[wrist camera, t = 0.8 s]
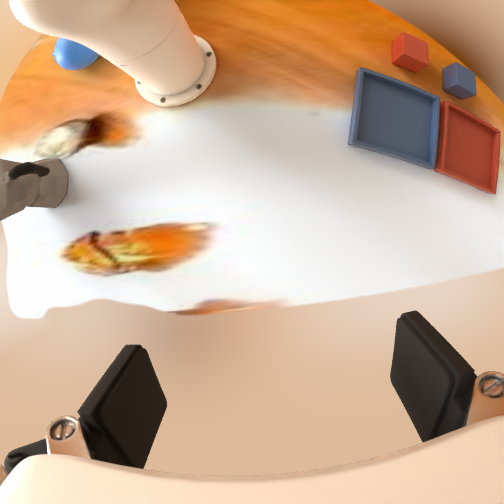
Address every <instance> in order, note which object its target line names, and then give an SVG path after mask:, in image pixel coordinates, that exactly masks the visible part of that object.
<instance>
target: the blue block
mask: <svg viewBox="0 0 504 504" xmlns="http://www.w3.org/2000/svg"><path fill="white" fill-rule="evenodd" d="M443 90H444V91H446V92H448V93H450V94H452V95H454V96H456V97H458V98H459V99H461V100H462V99H466V98H469V97H472V96H475V95H476V80H475V73H474V72H472V71H471V70H469V69H467V68H466V67H464V66H462V65H460V64H459V63H457V62H455V63H453V64H451V65H449V66H447V67H445V68H443Z"/></svg>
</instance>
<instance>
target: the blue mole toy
mask: <svg viewBox="0 0 504 504" xmlns="http://www.w3.org/2000/svg"><path fill="white" fill-rule="evenodd" d="M52 55H53V56H54V57H55V62H56V63H57V62H58V64H59V65H60V66H61V67H63V68H65V69H67V70H80V69H83V68H86V67H88V66H89V65H91V64H92V63H93V62H94V61H95V60H96V59H97V58H98V57H99V56H100V55H99V54H98V53H96V52H95V51H93V50H91V49H90V48H88V47H86V46H84V45H82V44H80V43H77V42H75V41H72V40H68V39H64V38H59V39H58V41H57V43H56V46H55V50H54V52H53V53H52Z"/></svg>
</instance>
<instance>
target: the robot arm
mask: <svg viewBox="0 0 504 504" xmlns="http://www.w3.org/2000/svg"><path fill="white" fill-rule="evenodd" d="M9 1H10V7H11V10H12V12H13V14H14V16H15V17H16V18H17V19H18V20H19V21H20V22H21V23H22V24H24V25H25V26H27V27H29V28H31V29H33V30H35V31H37V32H40V33H43V34H47V35H51V36H55V37H60V38H64V39H68V40H72V41H75V42H77V43H80V44H82V45H84V46H86V47H88V48H90V49H91V50H93V51H95V52H96V53H98V54H99V55H101V56H103V57H104V58H105V59H107V60H108V61H110V62H111V63H113V64H114V65H116V66H117V67H119V68H120V69H122V70H123V71H125V72H126V73H128V74H129V75H130V76H132V77H133V78H135V83H136V86H137V89H138V91H139V93H140V94H141V95H142V96H143V97H144V98H145V99H146V100H148V101H149V102H151V103H153V104H155V105H159V106H167V107H171V106H178V105H181V104H185V103H187V102H189V101H191V100H193V99H195V98H196V97H198V96H199V95H200V94H201V93H202V92H203V91H205V90H206V88H207V87H208V86H209V84H210V83H211V81H212V79H213V77H214V74H215V71H216V56H215V53H214V51H213V49H212V47H211V46H210V45H209V43H208V42H207V41H205V40H204V39H202V38H201V37H199V36H196V35H193V33H192V31H191V30H190V28H189V26H188V24H187V22H186V20H185V18H184V16H183V15H182V13H181V11H180V9H179V7H178V6H177V4H176V2H175V0H9ZM209 55H211V56H209ZM208 56H209V57H208ZM199 87H201V88H200V89H198V88H199ZM164 100H166V101H165V102H164ZM474 371H475V370H474V369H473V368H472V367H471V366H470V365H469V364H468V363H467V362H466V360H465V359H464V358H463V357H462V356H461V355H460V354H459V353H458V352H457V351H456V350H455V349H454V348H453V347H452V346H451V344H450V343H449V342H447V340H446V339H445V338H444V337H443V336H442V335H441V334H440V333H439V332H438V331H437V330H436V329H435V328H434V327H433V326H432V325H431V324H430V323H429V322H428V321H427V320H426V319H425V318H424V317H423V316H422V315H421V314H420V313H419V312H417V311H411V312H407V313H403V314H402V315H401V317H400V318H398V319H397V325H396V334H395V345H394V353H393V360H392V367H391V374H390V378H391V382H392V385H393V386H394V388H395V390H396V392H397V394H398V396H399V397H400V399H401V401H402V403H403V405H404V407H405V409H406V411H407V413H408V414H409V416H410V418H411V420H412V422H413V424H414V426H415V428H416V430H417V432H418V434H419V436H420V438H421V440H422V442H423V443H420V444H417V445H414V446H412V447H408V448H405V449H402V450H399V451H396V452H392V453H389V454H385V455H382V456H378V457H375V458H371V459H367V460H363V461H358V462H354V463H350V464H344V465H340V466H334V467H329V468H322V469H316V470H310V471H302V472H293V473H284V474H271V475H255V476H254V475H253V476H209V475H207V476H206V475H191V474H179V473H169V472H160V471H153V470H146V469H143V468H144V466H145V463H146V461H147V458H148V455H149V452H150V450H151V447H152V444H153V442H154V439H155V436H156V434H157V431H158V429H159V426H160V423H161V421H162V418H163V416H164V413H165V410H166V408H167V401H166V398H165V396H164V393H163V391H162V389H161V386H160V384H159V381H158V379H157V376H156V374H155V371H154V368H153V366H152V363H151V361H150V358H149V355H148V352H147V350H146V349H144V348H142V346H141V345H126V346H124V348H123V349H122V350H121V352H120V353H119V354H118V356H117V357H116V359H115V360H114V361H113V363H112V364H111V365H110V367H109V368H108V369H107V371H106V372H105V374H104V375H103V376H102V378H101V379H100V381H99V382H98V383H97V385H96V386H95V387H94V389H93V390H92V392H91V393H90V395H89V396H88V397H87V399H86V400H85V402H84V403H83V404H82V406H81V407H80V409H79V410H78V413H79V415H80V417H79V419H77V418H75V417H73V416H61V417H58V418H56V419H54V420H53V421H52V422H51V423H50V424H49V425H48V427H47V429H46V439H43V440H40V441H37V442H35V443H32V444H29V445H26V446H23V447H20V448H17V449H15V450H12V451H11V452H9V454H8V455H7V457H6V459H5V462H4V466H5V467H3V466H2V465H0V504H504V374H502V373H500V372H495V371H489V372H485V373H482V374H481V375H479V376H478V377H477V376H476V375H475V373H474Z"/></svg>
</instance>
